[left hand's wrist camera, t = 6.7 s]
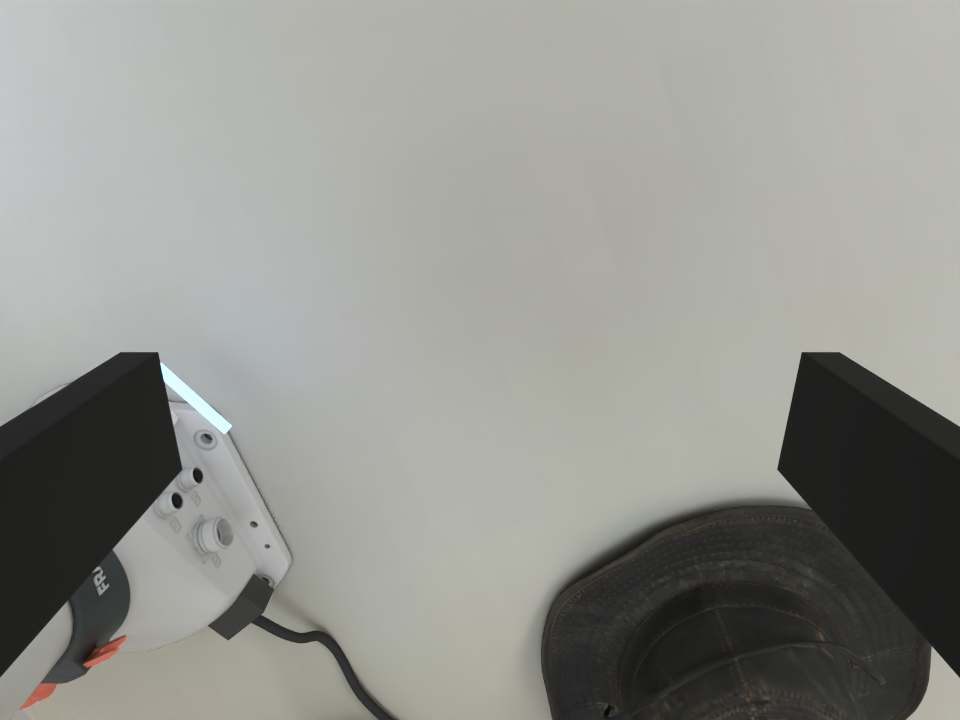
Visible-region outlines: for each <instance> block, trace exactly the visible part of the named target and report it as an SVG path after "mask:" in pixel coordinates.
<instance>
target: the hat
mask: <svg viewBox="0 0 960 720" xmlns="http://www.w3.org/2000/svg"><path fill="white" fill-rule="evenodd" d="M931 647H932V645H931V644H930V643H929V642H928V641H927V640H926V639H925V637H924V636H923V635H922V634H921V633H920V632H919V631H918V629H917V628H916V627H915V626H914V625H913V624H912V623H911V621H910V620H909V619H908V618H907V617H906V616H905V615H904V613H903V612H902V611H901V610H900V609H899V608H898V607H897V605H896V604H895V603H894V602H893V601H892V600H891V599H890V597H889V596H888V595H887V594H886V593H885V592H884V591H883V589H882V588H881V587H880V586H879V585H878V584H877V583H876V581H875V580H874V579H873V578H872V577H871V576H870V575H869V573H868V572H867V571H866V570H865V569H864V568H863V567H862V566H861V564H860V563H859V562H858V561H857V560H856V559H855V558H854V556H853V555H852V554H851V553H850V552H849V551H848V550H847V548H846V547H845V546H844V545H843V544H842V543H841V542H840V540H839V539H838V538H837V537H836V536H835V535H834V534H833V532H832V531H831V530H830V529H829V528H828V527H827V526H826V524H825V523H824V522H823V521H822V520H821V519H820V518H819V516H818V515H817V514H816V513H815V512H814V511H812V510H808V509H803V508H798V507H787V506H744V507H735V508H730V509H726V510H721V511H717V512H713V513H709V514H707V515H703V516H700V517H697V518H694V519H691V520H688V521H686V522H683V523H679V524H676V525H674V526H671V527H669V528H667V529H664V530H662V531H660V532H658V533H657V534H656V535H654V536H653V537H651V538H650V539H648V540H647V541H645V542H644V543H642V544H641V545H640V546H638V547H636V548H635V549H633V550H631V551H630V552H628V553H627V554H625V555H623V556H622V557H620V558H618V559H616V560H615V561H613V562H611V563H609V564H607V565H606V566H604V567H602V568H601V569H599V570H597V571H596V572H594V573H593V574H591V575H589V576H588V577H586V578H584V579H581V580H580V581H578V582H576V583H575V584H573V585H572V586H571V587H569V588H568V589H567V590H565V591H564V592H563V593H562V594H561V595H560V596H559V597H558V598H557V599H556V600H555V602H554V604H553V605H552V607H551V609H550V611H549V613H548V616H547V620H546V623H545V628H544V632H543V637H542V648H541V664H542V673H543V679H544V683H545V687H546V692H547V696H548V701H549V705H550V710H551V715H552V720H906V719H907V718H908V717H909V716H910V715H911V714H912V713H913V712H914V711H915V710H916V709H917V707H918V706H919V705H920V703H921V701H922V699H923V697H924V695H925V692H926V690H927V686H928V682H929V673H930V662H931Z"/></svg>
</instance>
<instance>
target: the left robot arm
mask: <svg viewBox="0 0 960 720" xmlns="http://www.w3.org/2000/svg"><path fill="white" fill-rule="evenodd" d="M182 470H183V468H182V464H181V459H180V454H179V449H178V445H177V440H176V435H175V430H174V426H173V421H172V416H171V411H170V407H169V402H168V397H167V392H166V388H165V383H164V378H163V373H162V369H161V364H160V359H159V354H158V352H120V353H119V354H117V355H115V356H114V357H112V358H111V359H109V360H107V361H106V362H104V363H103V364H101V365H99V366H98V367H96V368H94V369H93V370H91V371H90V372H88V373H86V374H85V375H83V376H82V377H80V378H78V379H77V380H75V381H73V382H72V383H70V384H69V385H67V386H65V387H64V388H62V389H61V390H59V391H57V392H56V393H54V394H52V395H51V396H49V397H48V398H46V399H44V400H43V401H41V402H40V403H38V404H36V405H35V406H33V407H31V408H30V409H28V410H27V411H25V412H23V413H22V414H20V415H19V416H17V417H15V418H14V419H12V420H10V421H9V422H7V423H6V424H4V425H2V426H1V427H0V677H1V676H2V675H3V674H4V673H5V672H6V671H7V669H8V668H9V667H10V666H11V665H12V664H13V663H14V661H15V660H16V659H17V658H18V657H19V656H20V655H21V653H22V652H23V651H24V650H25V649H26V648H27V647H28V645H29V644H30V643H31V642H32V641H33V640H34V639H35V637H36V636H37V635H38V634H39V633H40V632H41V631H42V629H43V628H44V627H45V626H46V625H47V624H48V623H49V621H50V620H51V619H52V618H53V617H54V616H55V615H56V613H57V612H58V611H59V610H60V609H61V608H62V607H63V605H64V604H65V603H66V602H67V601H68V600H69V599H70V597H71V596H72V595H73V594H74V593H75V592H76V591H77V589H78V588H79V587H80V586H81V585H82V584H83V583H84V581H85V580H86V579H87V578H88V577H89V576H90V575H91V573H92V572H93V571H94V570H95V569H96V568H97V567H98V566H99V564H100V563H101V562H102V561H103V560H104V559H105V558H106V556H107V555H108V554H109V553H110V552H111V551H112V550H113V548H114V547H115V546H116V545H117V544H118V543H119V542H120V540H121V539H122V538H123V537H124V536H125V535H126V534H127V532H128V531H129V530H130V529H131V528H132V527H133V526H134V524H135V523H136V522H137V521H138V520H139V519H140V518H141V516H142V515H143V514H144V513H145V512H146V511H147V510H148V508H149V507H150V506H151V505H152V504H153V503H154V502H155V500H156V499H157V498H158V497H159V496H160V495H161V494H162V492H163V491H164V490H165V489H166V488H167V487H168V486H169V484H170V483H171V482H172V481H173V480H174V479H175V478H176V476H177V475H178V474H179V473H180V472H181V471H182ZM777 470H778V471H779V472H780V473H781V474H782V475H783V476H784V478H785V479H786V480H787V481H788V482H789V483H790V484H791V486H792V487H793V488H794V489H795V490H796V491H797V492H798V494H799V495H800V496H801V497H802V498H803V499H804V500H805V502H806V503H807V504H808V505H809V506H810V507H811V508H812V510H813V511H814V512H815V513H816V514H817V515H818V516H819V518H820V519H821V520H822V521H823V522H824V523H825V524H826V526H827V527H828V528H829V529H830V530H831V531H832V532H833V534H834V535H835V536H836V537H837V538H838V539H839V540H840V542H841V543H842V544H843V545H844V546H845V547H846V548H847V550H848V551H849V552H850V553H851V554H852V555H853V556H854V558H855V559H856V560H857V561H858V562H859V563H860V564H861V566H862V567H863V568H864V569H865V570H866V571H867V572H868V573H869V575H870V576H871V577H872V578H873V579H874V580H875V581H876V583H877V584H878V585H879V586H880V587H881V588H882V589H883V591H884V592H885V593H886V594H887V595H888V596H889V597H890V599H891V600H892V601H893V602H894V603H895V604H896V605H897V607H898V608H899V609H900V610H901V611H902V612H903V613H904V615H905V616H906V617H907V618H908V619H909V620H910V621H911V623H912V624H913V625H914V626H915V627H916V628H917V629H918V631H919V632H920V633H921V634H922V635H923V636H924V637H925V639H926V640H927V641H928V642H929V643H930V644H931V645H932V647H933V648H934V649H935V650H936V651H937V652H938V653H939V655H940V656H941V657H942V658H943V659H944V660H945V661H946V663H947V664H948V665H949V666H950V667H951V668H952V669H953V671H954V672H955V673H956V674H957V675H958V676H959V677H960V427H959V426H958V425H956V424H954V423H953V422H951V421H950V420H948V419H946V418H945V417H943V416H941V415H940V414H938V413H937V412H935V411H933V410H932V409H930V408H929V407H927V406H925V405H924V404H922V403H920V402H919V401H917V400H916V399H914V398H912V397H911V396H909V395H908V394H906V393H904V392H903V391H901V390H899V389H898V388H896V387H895V386H893V385H891V384H890V383H888V382H887V381H885V380H883V379H882V378H880V377H878V376H877V375H875V374H874V373H872V372H870V371H869V370H867V369H866V368H864V367H862V366H861V365H859V364H857V363H856V362H854V361H853V360H851V359H849V358H848V357H846V356H845V355H843V354H841V353H840V352H802V354H801V359H800V364H799V369H798V373H797V378H796V383H795V388H794V392H793V397H792V402H791V407H790V411H789V416H788V421H787V426H786V430H785V435H784V440H783V445H782V449H781V454H780V459H779V464H778V468H777Z"/></svg>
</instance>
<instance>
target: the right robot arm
mask: <svg viewBox="0 0 960 720" xmlns="http://www.w3.org/2000/svg"><path fill="white" fill-rule="evenodd" d="M160 364H161V369H162V373H163V378H164V381H165V382H166V383H167V384H168V385H169V386H170V387H171V388H173V389H174V390H175V391H176V392H177V393H178V394H179V395H180V396H182V397H183V398H184V399H185V400H186V401H187V402H188V403H181V402H171V401H168V402H169V407H170V411H171V416H172V421H173V426H174V430H175V435H176V440H177V445H178V449H179V454H180V459H181V464H182V468H183V470H182V471H181V472H180V473H179V474H178V475H177V476H176V478H175V479H174V480H173V481H172V482H171V483H170V484H169V486H168V487H167V488H166V489H165V490H164V491H163V492H162V494H161V495H160V496H159V497H158V498H157V499H156V500H155V502H154V503H153V504H152V505H151V506H150V507H149V508H148V510H147V511H146V512H145V513H144V514H143V515H142V516H141V518H140V519H139V520H138V521H137V522H136V523H135V524H134V526H133V527H132V528H131V529H130V530H129V531H128V532H127V534H126V535H125V536H124V537H123V538H122V539H121V540H120V542H119V543H118V544H117V545H116V546H115V547H114V548H113V550H112V551H111V552H110V553H109V554H108V555H107V556H106V558H105V559H104V560H103V561H102V562H101V563H100V564H99V566H98V567H97V568H96V569H95V570H94V571H93V572H92V573H91V575H90V576H89V577H88V578H87V579H86V580H85V581H84V583H83V584H82V585H81V586H80V587H79V588H78V589H77V591H76V592H75V593H74V594H73V595H72V596H71V597H70V599H69V600H68V601H67V602H66V603H65V604H64V605H63V607H62V608H61V609H60V610H59V611H58V612H57V613H56V615H55V616H54V617H53V618H52V619H51V620H50V621H49V623H48V624H47V625H46V626H45V627H44V628H43V629H42V631H41V632H40V633H39V634H38V635H37V636H36V637H35V639H34V640H33V641H32V642H31V643H30V644H29V645H28V647H27V648H26V649H25V650H24V651H23V652H22V653H21V655H20V656H19V657H18V658H17V659H16V660H15V661H14V663H13V664H12V665H11V666H10V667H9V668H8V669H7V671H6V672H5V673H4V674H3V675H2V676H1V677H0V720H11V719H12V718H13V717H14V715H15V714H16V713H17V712H18V710H19V709H22V708H26V707H28V706H30V705H32V704H33V703H35V702H36V701H40V700H43V699H45V698H47V697H49V696H50V695H51V694H52V693H53V691H54V690H55V688H56V685H57V683H67V682H69V681H72V680H74V679H77V678H79V677H81V676H83V675H85V674H86V673H87V671H88V670H89V669H90V668H91V667H92V665H95V664H97V663H99V662H101V661H103V660H106V659H108V658H109V657H111V656H112V655H113V654H115V653H116V652H122V653H139V652H145V651H150V650H154V649H158V648H161V647H164V646H167V645H170V644H173V643H175V642H177V641H180V640H182V639H184V638H186V637H188V636H190V635H193V634H195V633H196V632H198V631H200V630H201V629H203V628H205V627H206V626H209V627H210V628H212V629H213V630H214V631H216V632H217V633H219V634H220V635H221V636H223V637H224V638H226V639H227V640H229V639H231V638H232V637H233V636H235V635H236V634H237V633H238V632H240V631H241V630H242V629H243V628H245V627H246V626H247V625H248V624H250V623H253V624H255V625H257V626H259V627H261V628H263V629H264V630H266V631H268V632H270V633H272V634H274V635H276V636H278V637H280V638H283V639H285V640H288V641H292V642H296V643H308V642H311V641H319V642H320V643H322V644H323V645H325V646H326V647H327V648H328V649H329V650H330V651H331V652H332V653H333V655H334V656H335V658H336V660H337V661H338V663H339V665H340V667H341V669H342V671H343V673H344V675H345V677H346V679H347V681H348V683H349V685H350V687H351V689H352V690H353V692H354V693H355V695H356V696H357V698H358V699H359V700H360V701H361V702H362V704H363V705H364V706H365V707H366V708H367V709H368V710H369V711H370V712H371V713H372V714H373V715H374V716H375V717H377V718H378V719H379V720H394V719H392V718H391V717H390V716H389V715H388V714H386V713H385V712H384V711H383V710H382V709H381V708H380V707H379V706H378V705H377V704H376V703H375V702H374V701H373V700H372V699H371V698H370V697H369V696H368V695H367V694H366V692H365V691H364V690H363V688H362V687H361V685H360V684H359V682H358V681H357V679H356V677H355V675H354V673H353V671H352V669H351V667H350V665H349V663H348V661H347V659H346V657H345V655H344V653H343V652H342V650H341V648H340V647H339V646H338V644H337V643H336V642H335V641H334V640H333V639H332V638H331V637H330V636H328V635H327V634H325V633H323V632H321V631H311V632H307V633H298V632H294V631H291V630H289V629H286V628H284V627H282V626H280V625H278V624H276V623H275V622H273V621H271V620H269V619H267V618H265V617H264V616H262V615H261V614H262V613H263V612H264V611H265V608H266V606H267V604H268V602H269V599H270V597H271V595H272V593H273V590H274V588H275V587H276V586H277V585H278V583H279V582H280V581H281V580H282V578H283V576H284V575H285V573H286V572H287V570H288V568H289V566H290V564H291V562H292V557H291V555H290V552H289V550H288V548H287V546H286V544H285V542H284V540H283V538H282V536H281V534H280V533H279V531H278V529H277V527H276V525H275V523H274V521H273V519H272V517H271V515H270V513H269V511H268V509H267V507H266V506H265V504H264V502H263V500H262V498H261V496H260V494H259V492H258V490H257V488H256V486H255V484H254V482H253V480H252V478H251V477H250V475H249V473H248V471H247V469H246V467H245V465H244V463H243V461H242V459H241V457H240V455H239V453H238V451H237V450H236V448H235V446H234V444H233V442H232V440H231V438H230V436H229V434H228V432H227V431H228V430H229V429H230V428H231V427H232V425H230V424H229V423H228V422H227V421H226V420H225V419H224V418H223V417H221V416H220V415H219V414H218V413H217V412H216V411H215V410H214V409H212V408H211V407H210V406H209V405H208V404H207V403H206V402H205V401H203V400H202V399H201V398H200V397H199V396H198V395H197V394H196V393H195V392H193V391H192V390H191V389H190V388H189V387H188V386H187V385H186V384H184V383H183V382H182V381H181V380H180V379H179V378H178V377H177V376H175V375H174V374H173V373H172V372H171V371H170V370H169V369H168V368H166V367H165V366H164V365H163V364H162V363H160ZM69 384H70V383H69ZM69 384H66V385H63V386H60V387H57V388H55V389H53V390H51V391H49V392H48V393H46V394H44V395H43V396H42V397H40V398H39V399H38V400H37V401H36V402H35V403H34V404H33V405H32V406H31V407H33V406H35V405H36V404H38V403H40V402H41V401H43V400H44V399H46V398H48V397H49V396H51V395H52V394H54V393H56V392H57V391H59V390H61V389H62V388H64V387H65V386H67V385H69ZM31 407H30V408H31ZM205 434H209V435H210V436H211V437H212V439H208V438H207V437H206V436H205ZM264 578H267V579H268V580H266V579H264Z"/></svg>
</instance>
